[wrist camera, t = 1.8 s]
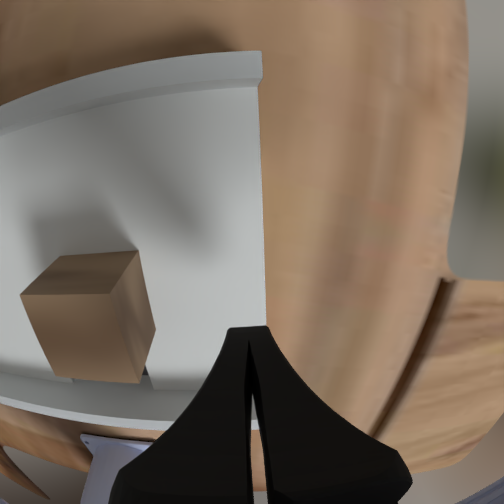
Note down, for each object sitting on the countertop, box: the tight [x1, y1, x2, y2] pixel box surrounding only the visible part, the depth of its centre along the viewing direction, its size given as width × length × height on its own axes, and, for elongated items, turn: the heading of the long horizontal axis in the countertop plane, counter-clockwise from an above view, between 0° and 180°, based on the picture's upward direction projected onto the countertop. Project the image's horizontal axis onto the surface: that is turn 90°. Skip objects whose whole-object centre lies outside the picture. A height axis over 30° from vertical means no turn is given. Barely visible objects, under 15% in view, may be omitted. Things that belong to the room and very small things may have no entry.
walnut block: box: [20, 250, 156, 384], centre depth 13 cm, size 4×4×4 cm
